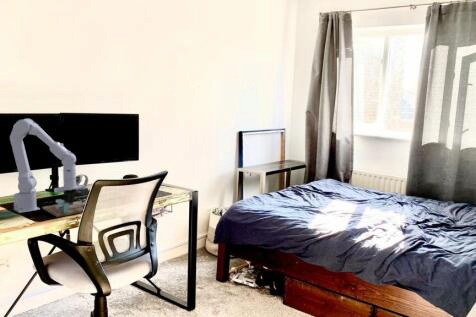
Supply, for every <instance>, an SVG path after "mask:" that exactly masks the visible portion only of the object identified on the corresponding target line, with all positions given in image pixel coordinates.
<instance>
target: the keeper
mask: <svg viewBox="0 0 476 317" xmlns="http://www.w3.org/2000/svg"><path fill="white" fill-rule="evenodd" d="M55 203H57V204H60V205H62V212H63V213H68V212H69V203H68V201H67V200H64V199H61V198H59V199H58V198H57V199H55Z"/></svg>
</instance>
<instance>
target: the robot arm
mask: <svg viewBox="0 0 476 317" xmlns="http://www.w3.org/2000/svg"><path fill="white" fill-rule="evenodd" d="M27 135H33V136H36V137H37V138H39V139H40V140H41V141H42V142H43V143H45V144H46V145H47V146H48V147H49V151H50V152H51V153H52V154H53V155H54V156H55V157H57V159H59V160H61V164H62V166H63V167H62V168H63V169H62V171H63V172H62V175H63V176H62V177H63V178H62V180H63V186H59V187H54V188H53V190H54V191H53V192H54V194H58V193H63V195H64V196H65V199H66V202H68V203H73V202H75V201H74V200H75V198H76V195H78V194H77V191H76V190H79V189H85V188H86V187H85V185H83V184H79V185H76V176H77V172H76V171H77V170H76V162H77V157H76V155H75V153H73V152H71V151H70V150H69V149H67V148H66V147H65V146H64V143H61V142H59V141H55V140H53V139H52V137H51V136H50V135H48V134H47V132H45V130H43V128H41V126H39V124H38V123H37V122H35V121H34V120H33V119H31V118H24V119H19V120H18V121H16V123H14V125H13V128H12V129H11V133H10V135H9V141H10V145H11V147H12V153H13V156H14V160H15V164H16V167H17V172H18V177H17V179H18V180H17V182H18V184H17V188H18V190H19V192H17V193H14V195H13V210H14V211H15V212H17V213H19V214H21V213H27V212H32V211H39V210H41V208H40V207H38V206H37V190H36V188H35V187H36V186H37V184H38V183H37V182H38V181H37V179H36V178H35V176H34V174H33V172H32V171H31V168H30V165H29V160H28V156H27V152H26V149H25V148H26V147H25V144H24V141H23V139H24V138H25V137H26V136H27Z"/></svg>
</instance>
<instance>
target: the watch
mask: <svg viewBox="0 0 476 317" xmlns="http://www.w3.org/2000/svg"><path fill="white" fill-rule="evenodd" d="M83 177H84V179H85V180H84V182H83ZM82 182H83V184H82V185H85V189H79V190H76V191H77V194H76V195H79V196H80V195H81V196H85V195H88V194H89V188H88V187H87V186H88V185H89V184H88V183H89V177H88V176H87V175H86V174H82V173H80V174H78V175H76V185H81V184H80V183H82Z"/></svg>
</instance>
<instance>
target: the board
mask: <svg viewBox="0 0 476 317" xmlns="http://www.w3.org/2000/svg"><path fill="white" fill-rule="evenodd" d="M79 201H82V199H80V200H77V201H73V203H74V202H79ZM59 205H60V204H58V203H57V204H53V205H52V204H51V205H47V206H42V207H41V208H42V210H44V211H45V212H47V213H50V214H51V215H53V216H54V217H56V218H58V217H65V216H69V215H74V214H81V213H83V212H82V211H83V207H84V206H83V207H78V208H73V209H69V212H68V213H63V212H62V211H57V210H56V206H59Z"/></svg>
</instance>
